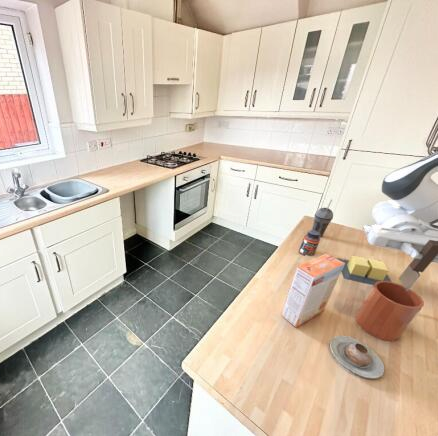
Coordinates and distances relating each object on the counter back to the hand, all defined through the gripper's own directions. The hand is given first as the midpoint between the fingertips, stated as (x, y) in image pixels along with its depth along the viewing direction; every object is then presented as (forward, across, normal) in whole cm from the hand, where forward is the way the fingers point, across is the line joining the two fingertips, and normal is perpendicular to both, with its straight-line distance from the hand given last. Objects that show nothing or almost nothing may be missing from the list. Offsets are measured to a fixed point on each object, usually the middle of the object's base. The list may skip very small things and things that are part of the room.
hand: (427, 258), depth 61 cm
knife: (-2, 0, +11) cm, 11 cm away
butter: (-29, +3, +28) cm, 40 cm away
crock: (-2, 0, +28) cm, 28 cm away
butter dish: (-29, +3, +28) cm, 40 cm away
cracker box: (+2, -21, +28) cm, 35 cm away
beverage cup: (-54, -10, +28) cm, 62 cm away
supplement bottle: (-36, -16, +28) cm, 48 cm away
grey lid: (+13, -9, +28) cm, 32 cm away
